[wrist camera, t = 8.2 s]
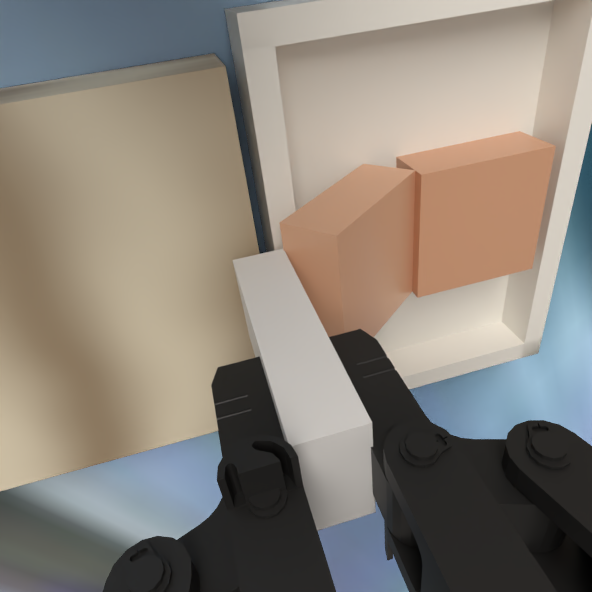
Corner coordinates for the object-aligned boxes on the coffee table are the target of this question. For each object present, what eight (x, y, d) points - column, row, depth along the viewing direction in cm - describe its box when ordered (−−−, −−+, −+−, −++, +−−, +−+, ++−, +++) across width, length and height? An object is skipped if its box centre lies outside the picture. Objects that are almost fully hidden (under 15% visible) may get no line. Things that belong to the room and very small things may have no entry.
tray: (288, 382, 21) (301, 419, 19) (224, 8, 13) (236, 13, 11) (507, 323, 22) (538, 353, 20) (570, -44, 14) (630, -48, 13)
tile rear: (531, 268, 17) (502, 246, 19) (555, 145, 15) (519, 130, 16) (417, 297, 17) (396, 272, 18) (421, 174, 14) (396, 157, 16)
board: (-84, 462, 18) (-113, 522, 16) (-370, 149, 11) (-482, 185, 9) (274, 368, 20) (288, 411, 18) (213, 53, 13) (225, 66, 11)
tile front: (298, 349, 15) (347, 368, 14) (279, 222, 13) (336, 235, 12) (367, 279, 18) (412, 291, 17) (363, 163, 16) (415, 170, 15)
